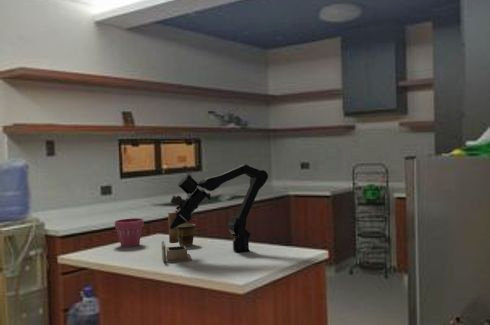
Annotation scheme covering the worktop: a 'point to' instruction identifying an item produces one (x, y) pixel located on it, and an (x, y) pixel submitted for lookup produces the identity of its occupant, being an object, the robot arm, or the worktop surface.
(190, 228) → the ceramic cup
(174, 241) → the wooden pestle
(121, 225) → the plant pot
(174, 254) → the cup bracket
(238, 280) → the worktop surface
